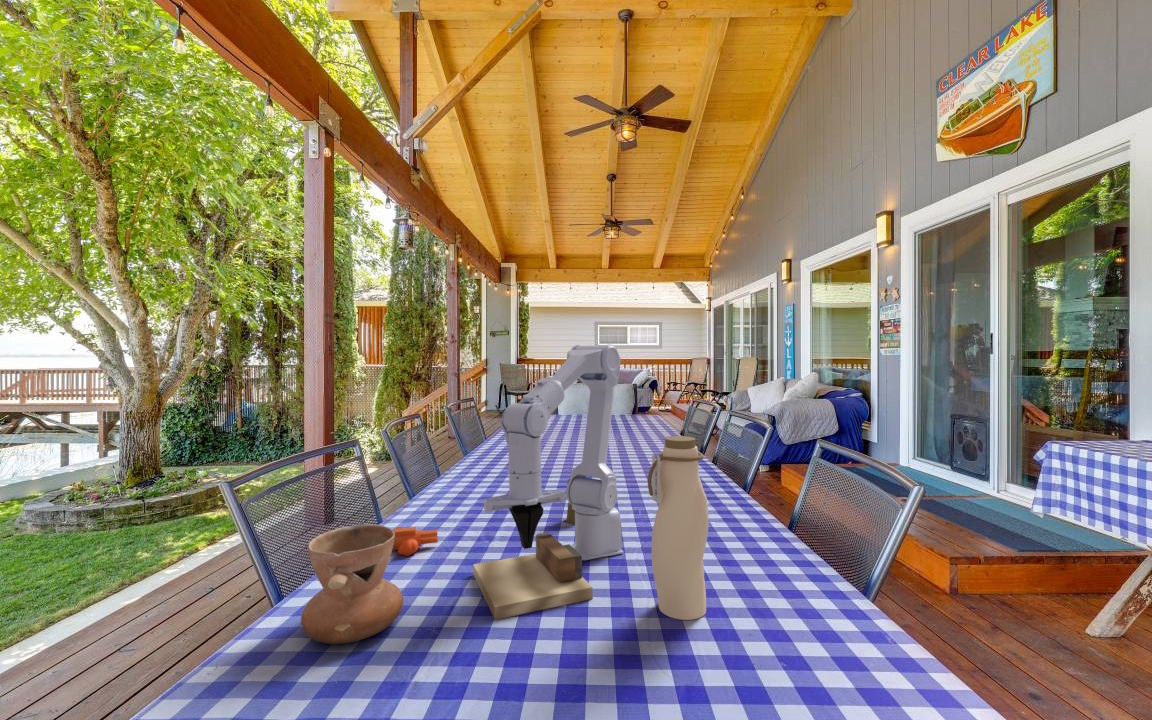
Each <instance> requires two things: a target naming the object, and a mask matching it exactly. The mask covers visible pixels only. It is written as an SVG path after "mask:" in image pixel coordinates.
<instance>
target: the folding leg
mask: <svg viewBox="0 0 1152 720" xmlns="http://www.w3.org/2000/svg"><path fill="white" fill-rule="evenodd" d="M563 545H564V544H562V543H561V542H560V541H559V540H557V539H556V537H554V536H553V534H551V533H548V532H541V533H540V532H539V533H538V534H535V554H536V557H537V558H538V559H539V560H540V561H541V562H542V563H543V565H544V566H545V567H546V568H547V569H548V570H549V571H550V572H551V573H552V574H553V575H554V577H555V578H556V579H557V580H558V581H559V582H563V581H568V580H573V579H575V556H574V555H573V554H572V553H571V552H570V551H569V550H567V549H566V548H565V547H564V546H563Z"/></svg>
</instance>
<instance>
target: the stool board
mask: <svg viewBox="0 0 1152 720" xmlns="http://www.w3.org/2000/svg"><path fill="white" fill-rule="evenodd" d="M562 545H563V546H564V547H565V548H566V549H567V550H569V551H570V552H571V553H572V554H573V555H574V556H575V579H573V580H568V581H563V582H559V581H558V580H557V579H556V578H555V577H554V575H553V574H552V573H551V572H550V571H549V570H548V569H547V568H546V567H545V566H544V565H543V563H542V562H541V561H540V560H539V559H538V558H537V557H536V553H533V554H527V555H520V556H515V557H507V558H504V559H498V560H492V561H485V562H480V563H473V567H472V568H473V577H474V578H475V581H476V583H477V585H478V588H479V589H480V591H481V593H482V596H483V598H484V600H485V601H486V603H487V606H488V608H489V610H490V612H491V614H492V617H493V618H494V620H495V621H496V620H500V619H505V618H509V617H514V616H519V615H524V614H528V613H533V612H536V611H542V610H547V609H551V608H556V607H560V606H566V605H570V604H576V603H579V602H583V601H590V600H593V597H594V596H593V591H594V590H593V586H592V585H591V584H590V583H589V582H588V581H587V580H586V579H585V578H584V577H583V560H582V556H581V555H580V554H579V553H578V552H577V551H576V550H575V549H574V548H573V547H572V546H571V545H572V544H562Z"/></svg>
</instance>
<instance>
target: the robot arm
mask: <svg viewBox="0 0 1152 720" xmlns="http://www.w3.org/2000/svg"><path fill="white" fill-rule="evenodd" d="M566 355H567V356H566V360H565V361H564V363H563V364H562V365H561V366H560V367H559V368H558V370H557V371H556V372H555V373H554V374H553V376H552V377H551V378H540V379H538V381H536V385H535V386H534V387H533V388H531V390H530V391H529V392H527V394H524V395H523V397H522V399H521V400H520V401H518V402H513V403H511V404H509V405H508V406H507V407H506V408H505V409H504V411H503V413H502V417H501V419H500V427H501V429H502V431H503V432H504V436H505V442H506V444H507V446H508V485H509V486H508V488H509V491H508V493H506V494H501V495H498V496H492V497H488V498H484V499H483V505H484V506H483V508H484V511H485V513H487V514H488V513H489V514H490V513H493V511H499V510H509V512H510V514H511V517H512V519H513V520H514V522H515V525H516V529H517V530H518V536H519V539H520V546H521V547H522V548H523V550H526V549H527V550H528V549H531V548H533V541H534V537H535V535H536V530H537V527H538V525H539V523H540V520H541V518H542V517H543V515H544V507H542V505H544V504H545V505H546V504H552V503H558V502H559V503H566V502H569V503H570V504H571V505H572V509H573V510H575V524H574V528H575V529H574V530H575V531H574V532H575V535H574V537H575V540H574V541H575V543H574V544H570V545H571V546H572V547H573V548H574V549H575V550H576V551H577V552H578V553H579V554H580V555H581V556H582V561H588V560H595V559H599V558H600V559H601V558H604V557H609V556H616V555H621V554H624V550H623V549H622V547H623V546H622V539H623V538H622V519H621V514H620V512H619V510H618V509H617V508H616V507H615V506H616V502H617V500H618V488H617V475H616V474H615V473H614V471H612V470H611V468H610V467H609V466H608V465H607V460H608V450H609V441H610V432H611V425H612V424H611V423H612V414H613V404H614V397H615V388H616V386H617V385H618V384H619V379H620V370H621V362H622V361H621V355H620V354H619V351H618V349H617V348H616V346H615V345H614V344H609V343H608V344H603V345H602V344H601V345H600V344H598V345H596V344H595V345H579V344H577V345H574V346H572V348H571V349H570V350H569V351H567V353H566ZM578 379H579V380H580V382H581V383H582V384H583V385H586V386H587V387H588V389H589V391H590V394H589V401H588V408H587V409H588V410H587V417H586V425H585V426H586V427H585V434H584V442H583V452H582V460H581V463H579V464H577V465H576V466H575V467H574V468H572V469H571V472H570V473H571V474H570V477H569V479H570V481H569V483H568V482H567V483H568V485H566V490H563V488H562V489H561V488H560V489H559V488H558V489H542V455H541V453H542V446H541V442H542V441H541V440H542V439H541V437H542V436H541V435H542V434H545V432H546V430H547V427H548V422H549V420H551V415H552V414H553V412H555V410H556V409H557V408H558V407H559V406H560V405H561V404H562V402H563V401H564V399H565V391H566V390H567V389H568V388H569V387H570V386H572V385H574V383H575V382H576V381H578ZM590 477H593V478H590ZM594 477H595V478H594ZM596 478H598V479H596ZM566 500H567V501H566Z"/></svg>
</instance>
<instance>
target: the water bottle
mask: <svg viewBox="0 0 1152 720" xmlns="http://www.w3.org/2000/svg"><path fill="white" fill-rule="evenodd" d="M704 458H705V457H704V454H703V453H701V452H699V451H698V446H697V445H696V438H695V437H692V436H686V435H683V436H682V435H674V436H673V435H672V436H666V437H665V438H664V445H663V450H662V452H660V453H659V454H658V456H657V455H653V454H652V456H651V461H652V463H651V467H650V468H649V472H648V476H647V488H648V492H649V493H648V495H649V496H651V500H653V501H654V502H656V504H658V507H657V510H656V513H655V514H656V515H655V517H654V521H653V526H652V535H651V552H650V553H651V566H652V573H653V579H654V584H655V588H656V589H655V590H656V594H657V601H658V609H659V611H660V612H661V613H662V614H663V615H665V616H667V617H669V618H672V619H675V620H684V621H689V620H690V621H692V620H696V619H699V618H702V617H703V616H705V614H706V613H707V593H706V582H705V569H704V567H705V566H704V556H705V555H704V554H705V550H706V546H707V545H706V544H707V541H708V533H709V503H708V498H707V495H706V492H705V491H704V487H703V484H702V480H701V477H700V474H699V461H702V460H703V459H704Z"/></svg>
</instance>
